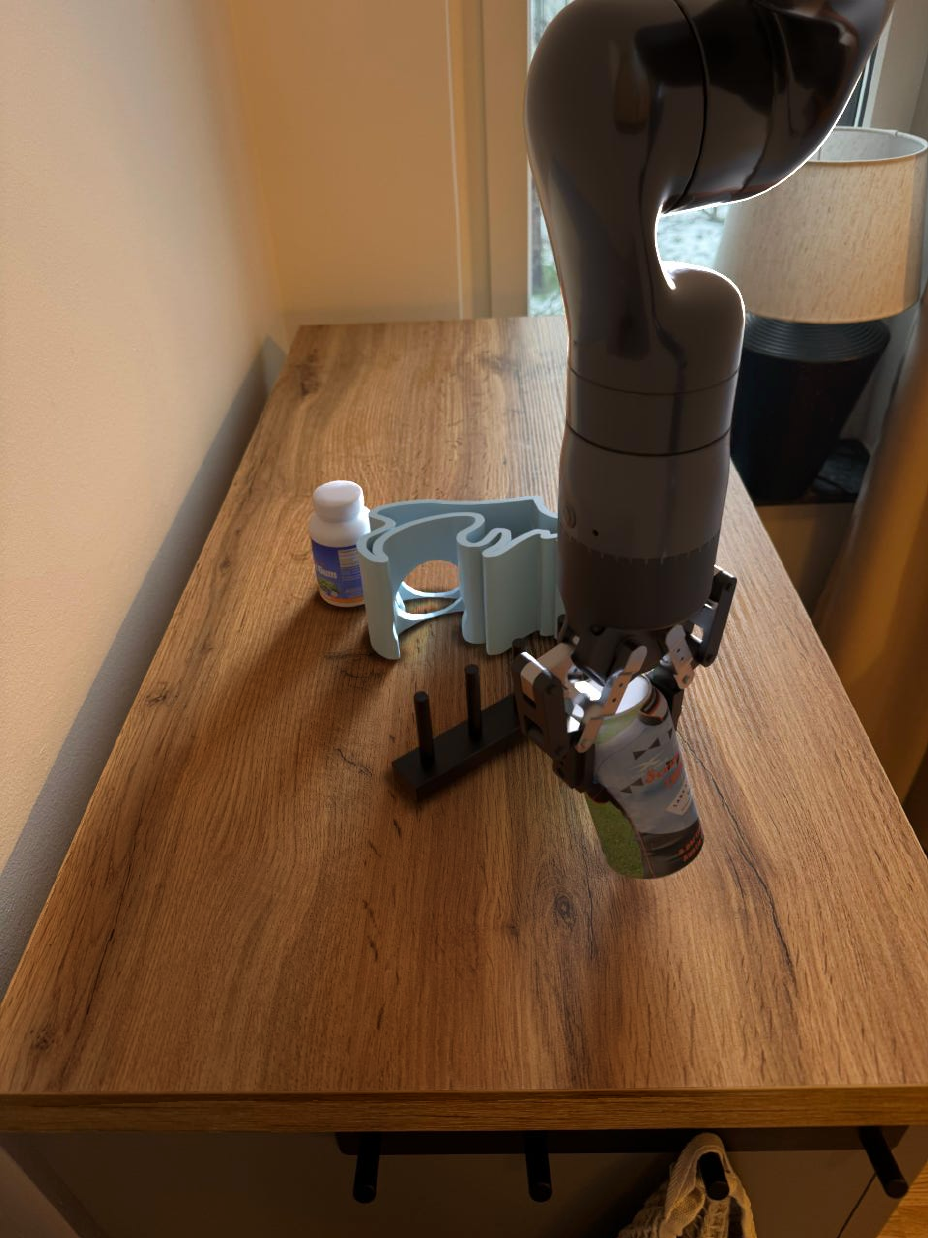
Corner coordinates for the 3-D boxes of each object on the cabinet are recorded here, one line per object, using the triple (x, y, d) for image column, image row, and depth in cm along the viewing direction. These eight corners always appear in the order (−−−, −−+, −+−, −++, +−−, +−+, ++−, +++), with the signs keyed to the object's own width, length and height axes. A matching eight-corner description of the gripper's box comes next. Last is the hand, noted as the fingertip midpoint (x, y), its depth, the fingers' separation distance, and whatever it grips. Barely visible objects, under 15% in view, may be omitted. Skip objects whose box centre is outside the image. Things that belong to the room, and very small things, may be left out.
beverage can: (697, 901, 52) (680, 728, 46) (572, 884, 55) (542, 719, 49) (712, 826, 57) (699, 661, 51) (597, 814, 60) (572, 658, 54)
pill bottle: (309, 584, 80) (291, 488, 74) (365, 564, 82) (352, 468, 76) (335, 617, 76) (318, 518, 70) (393, 595, 78) (381, 497, 72)
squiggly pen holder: (583, 583, 78) (588, 489, 72) (602, 661, 70) (608, 562, 64) (372, 596, 78) (359, 503, 72) (368, 675, 70) (352, 577, 64)
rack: (596, 696, 67) (601, 616, 63) (417, 803, 60) (407, 723, 56) (569, 674, 69) (571, 596, 65) (392, 776, 62) (381, 697, 58)
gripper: (578, 607, 37) (567, 861, 47) (806, 484, 43) (752, 733, 54) (466, 528, 42) (479, 775, 52) (686, 428, 48) (658, 666, 58)
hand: (617, 753), depth 53 cm, fingers closed on beverage can, 6 cm apart
